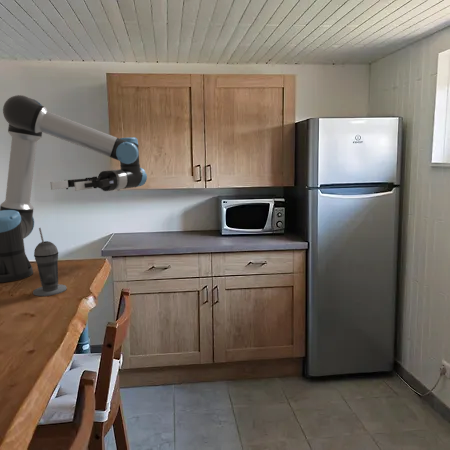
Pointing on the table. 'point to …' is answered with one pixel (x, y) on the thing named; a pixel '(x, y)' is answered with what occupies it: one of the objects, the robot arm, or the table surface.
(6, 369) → the table surface
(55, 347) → the table surface
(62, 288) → the coaster
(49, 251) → the beverage cup
